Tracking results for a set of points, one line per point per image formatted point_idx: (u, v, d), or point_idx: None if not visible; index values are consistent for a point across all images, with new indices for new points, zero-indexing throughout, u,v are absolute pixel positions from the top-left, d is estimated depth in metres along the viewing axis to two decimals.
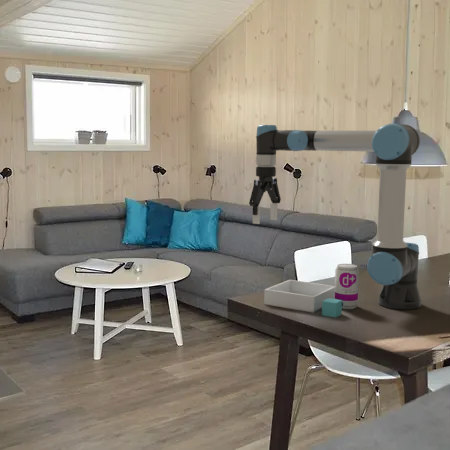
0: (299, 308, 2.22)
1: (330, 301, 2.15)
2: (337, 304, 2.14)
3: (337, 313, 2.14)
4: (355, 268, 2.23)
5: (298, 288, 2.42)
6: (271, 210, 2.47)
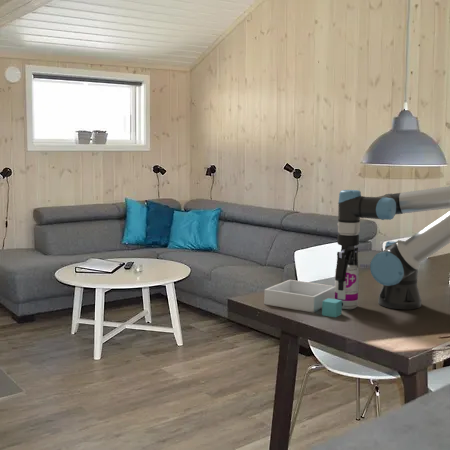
0: (299, 308, 2.22)
1: (330, 301, 2.15)
2: (337, 304, 2.14)
3: (337, 313, 2.14)
4: (355, 268, 2.23)
5: (298, 288, 2.42)
6: None
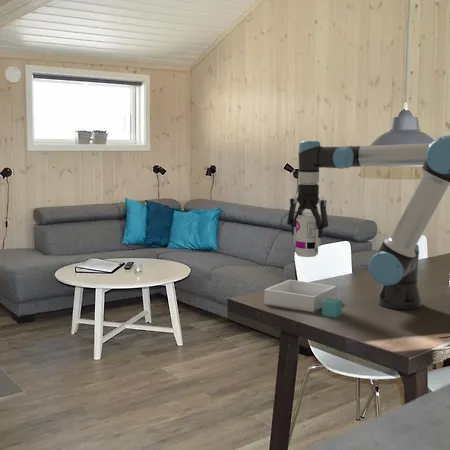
0: (299, 308, 2.22)
1: (330, 301, 2.15)
2: (337, 304, 2.14)
3: (337, 313, 2.14)
4: (301, 216, 2.29)
5: (298, 288, 2.42)
6: None
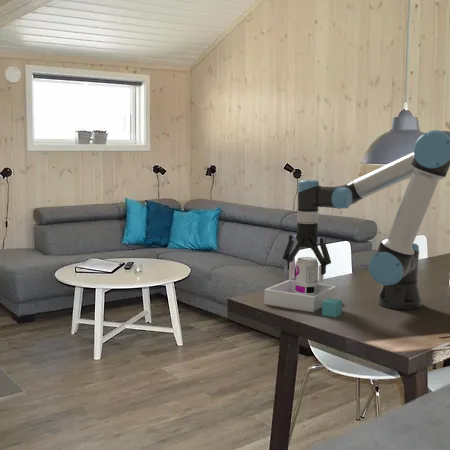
0: (299, 308, 2.22)
1: (330, 301, 2.15)
2: (337, 304, 2.14)
3: (337, 313, 2.14)
4: (300, 261, 2.31)
5: None
6: None
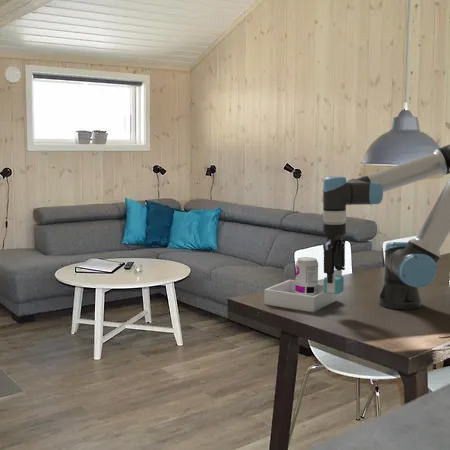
0: (299, 308, 2.22)
1: None
2: (339, 280, 2.13)
3: (339, 289, 2.13)
4: (300, 261, 2.31)
5: None
6: None
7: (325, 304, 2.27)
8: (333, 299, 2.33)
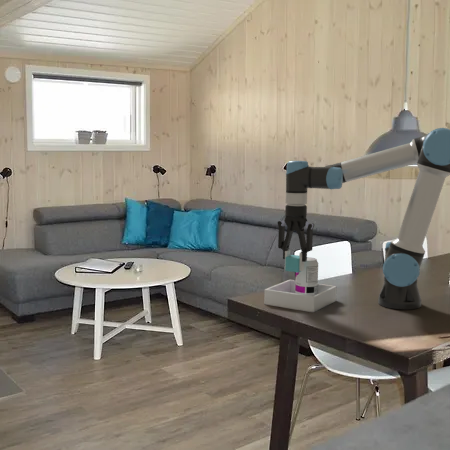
0: (299, 308, 2.22)
1: (291, 256, 2.26)
2: (288, 259, 2.24)
3: (289, 268, 2.25)
4: None
5: None
6: None
7: (325, 304, 2.27)
8: (333, 299, 2.33)
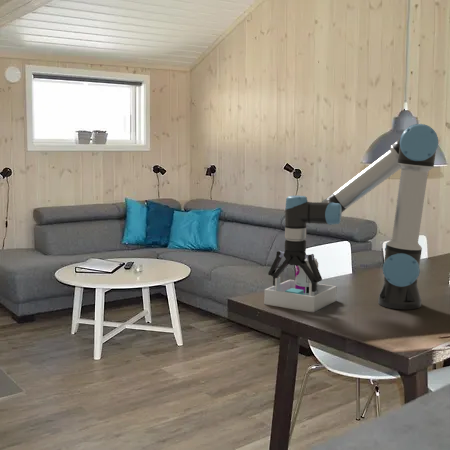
0: (299, 308, 2.22)
1: (291, 289, 2.28)
2: None
3: None
4: None
5: None
6: None
7: (325, 304, 2.27)
8: (333, 299, 2.33)
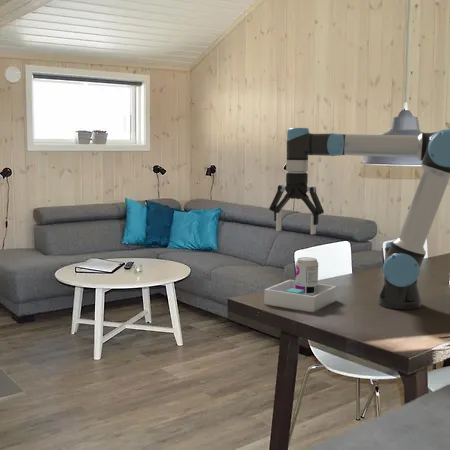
0: (299, 308, 2.22)
1: (291, 289, 2.28)
2: None
3: None
4: (300, 261, 2.31)
5: None
6: None
7: (325, 304, 2.27)
8: (333, 299, 2.33)
